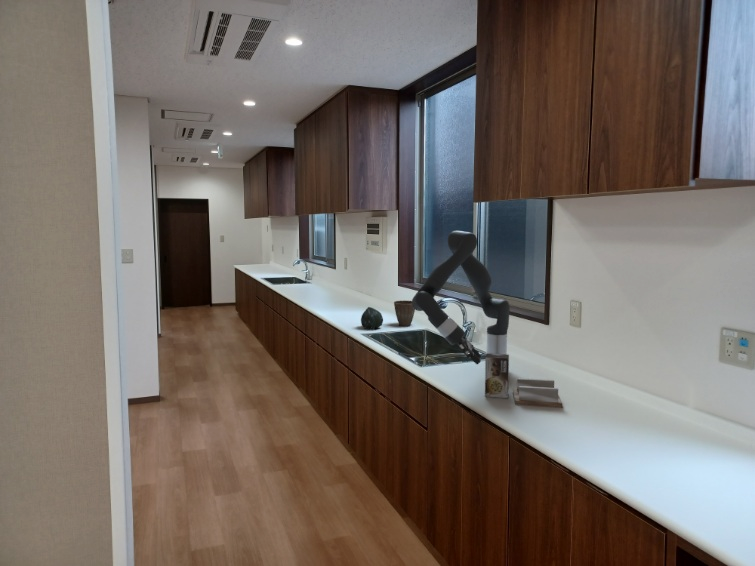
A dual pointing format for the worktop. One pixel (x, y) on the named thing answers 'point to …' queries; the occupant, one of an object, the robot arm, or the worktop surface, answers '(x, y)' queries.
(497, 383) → the coffee box
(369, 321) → the squash
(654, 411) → the worktop surface
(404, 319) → the plant pot
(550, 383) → the clevis cradle
